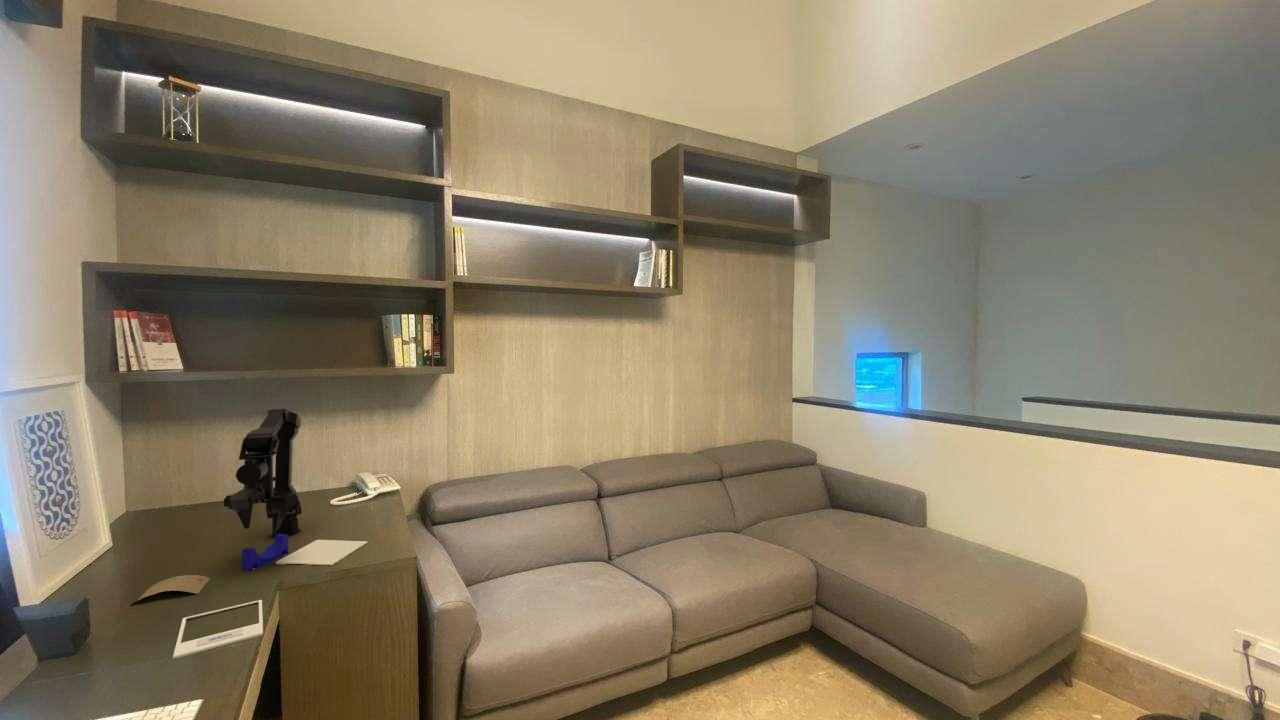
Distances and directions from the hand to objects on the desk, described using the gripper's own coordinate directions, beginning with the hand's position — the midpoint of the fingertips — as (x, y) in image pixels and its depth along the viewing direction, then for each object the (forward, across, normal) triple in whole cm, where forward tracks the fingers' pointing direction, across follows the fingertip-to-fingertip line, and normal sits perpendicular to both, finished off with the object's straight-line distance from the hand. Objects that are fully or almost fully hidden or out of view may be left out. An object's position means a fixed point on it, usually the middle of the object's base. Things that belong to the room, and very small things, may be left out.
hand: (261, 528), depth 150 cm
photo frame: (+10, +19, -34) cm, 40 cm away
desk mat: (+10, +14, +7) cm, 18 cm away
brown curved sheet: (+10, -8, -19) cm, 23 cm away
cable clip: (+10, +1, 0) cm, 10 cm away
